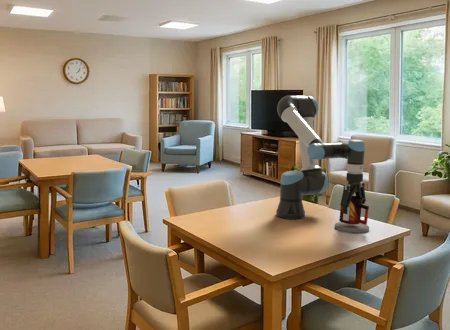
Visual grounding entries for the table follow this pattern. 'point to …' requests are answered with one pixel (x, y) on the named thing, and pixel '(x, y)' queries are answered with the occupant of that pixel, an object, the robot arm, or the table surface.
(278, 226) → the table surface
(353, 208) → the mug
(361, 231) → the plate
